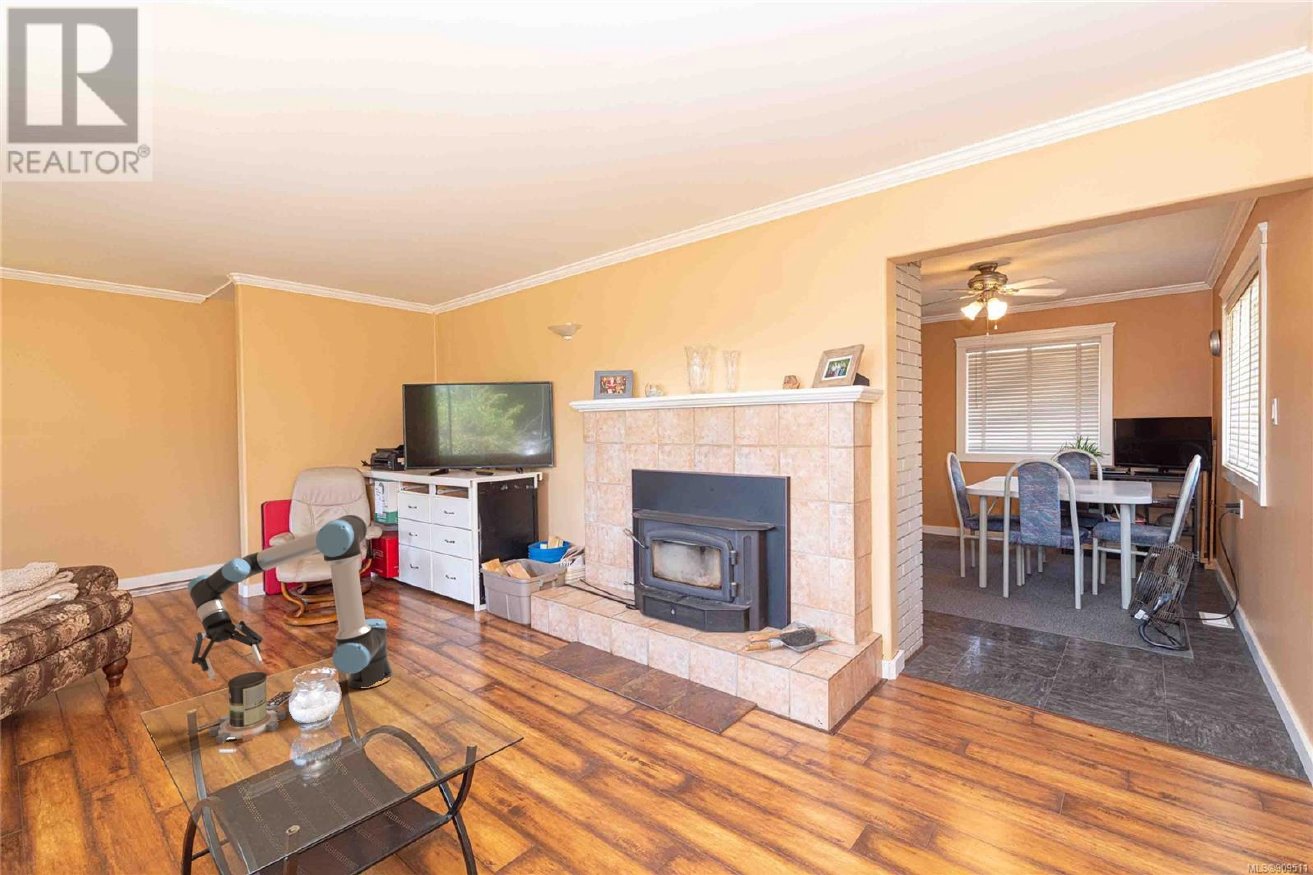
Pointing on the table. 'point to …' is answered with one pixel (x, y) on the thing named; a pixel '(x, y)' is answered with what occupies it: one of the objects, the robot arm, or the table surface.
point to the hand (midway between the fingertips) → (237, 670)
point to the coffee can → (247, 700)
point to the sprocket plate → (248, 733)
